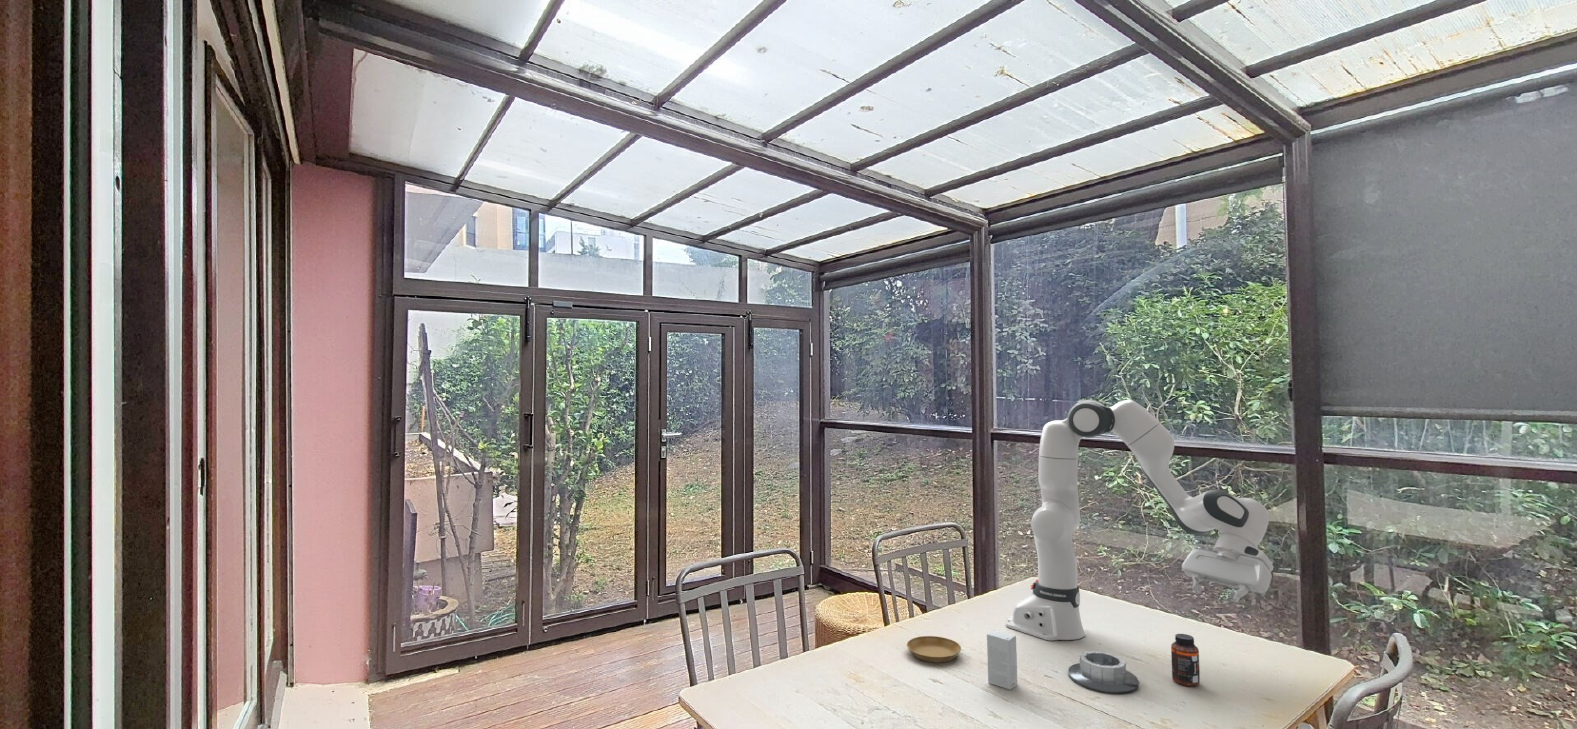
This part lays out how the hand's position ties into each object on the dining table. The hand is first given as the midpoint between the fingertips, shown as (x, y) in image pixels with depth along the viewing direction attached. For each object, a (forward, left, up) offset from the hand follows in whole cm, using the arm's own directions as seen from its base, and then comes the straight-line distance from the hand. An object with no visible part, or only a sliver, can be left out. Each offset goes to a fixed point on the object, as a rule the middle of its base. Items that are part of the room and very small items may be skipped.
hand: (1213, 595), depth 169 cm
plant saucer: (-61, -38, -20) cm, 74 cm away
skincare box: (-39, -43, -20) cm, 61 cm away
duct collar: (-21, -24, -20) cm, 37 cm away
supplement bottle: (-5, -12, -20) cm, 23 cm away
